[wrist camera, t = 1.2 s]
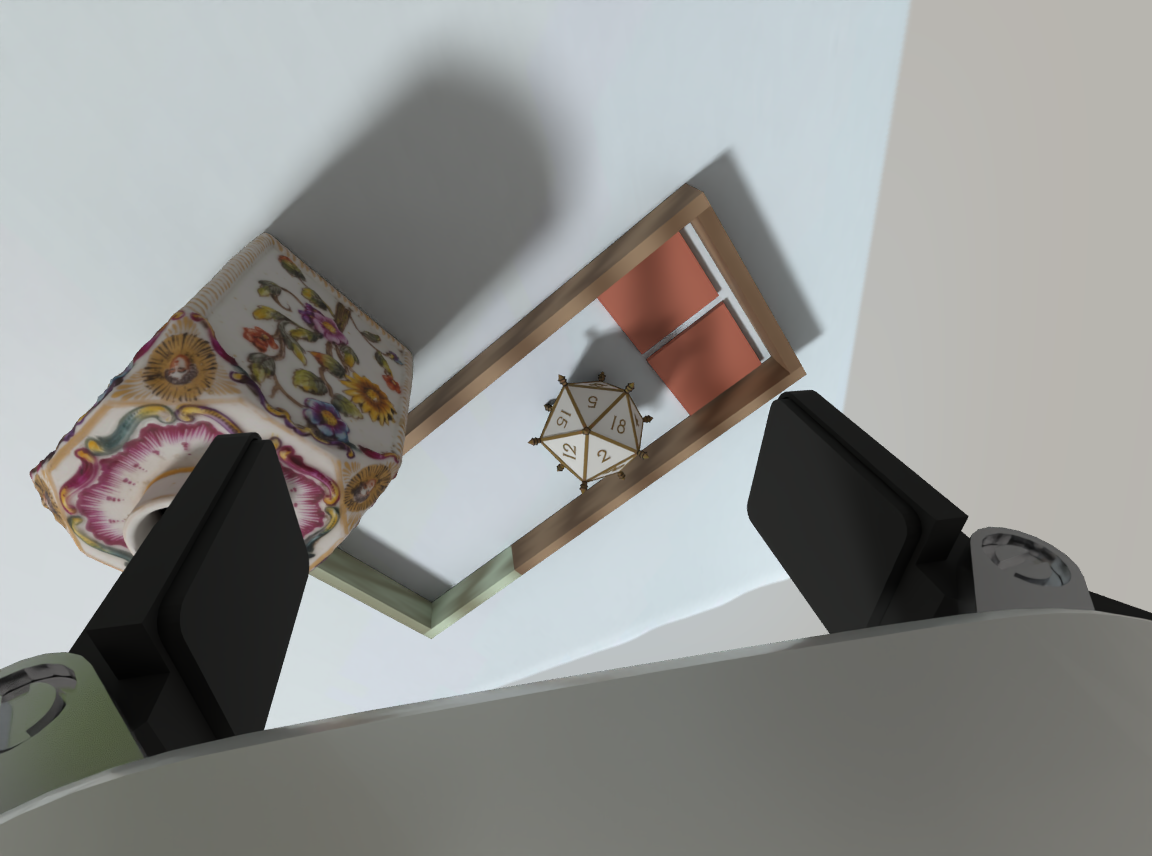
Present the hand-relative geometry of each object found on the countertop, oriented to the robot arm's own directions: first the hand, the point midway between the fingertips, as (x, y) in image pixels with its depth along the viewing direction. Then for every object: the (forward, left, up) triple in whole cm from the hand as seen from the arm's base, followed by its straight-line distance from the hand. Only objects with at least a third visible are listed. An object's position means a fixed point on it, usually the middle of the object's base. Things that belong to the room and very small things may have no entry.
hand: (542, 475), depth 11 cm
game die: (+4, +17, -29) cm, 33 cm away
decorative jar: (+16, 0, -29) cm, 33 cm away
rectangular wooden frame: (+9, +17, -28) cm, 34 cm away
